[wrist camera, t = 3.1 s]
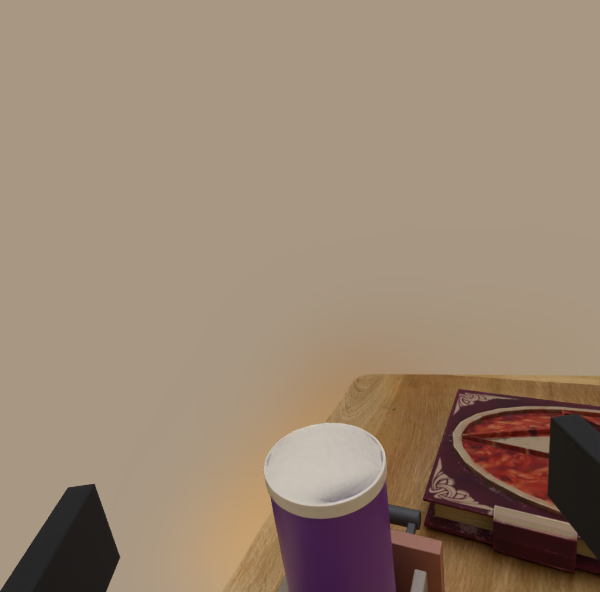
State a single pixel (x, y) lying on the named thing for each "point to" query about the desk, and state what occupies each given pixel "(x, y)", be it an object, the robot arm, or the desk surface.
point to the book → (505, 479)
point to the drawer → (411, 555)
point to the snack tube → (332, 509)
